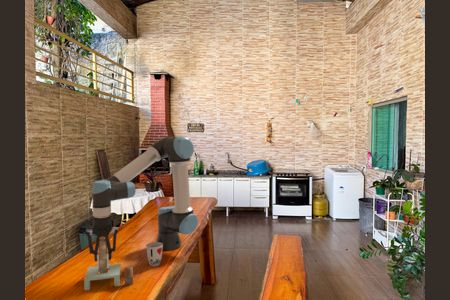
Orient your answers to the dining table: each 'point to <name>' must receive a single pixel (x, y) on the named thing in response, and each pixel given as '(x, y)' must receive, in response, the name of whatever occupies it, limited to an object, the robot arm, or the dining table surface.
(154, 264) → the cup
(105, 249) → the long pin
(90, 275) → the bridge
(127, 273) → the short pin
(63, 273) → the dining table surface
